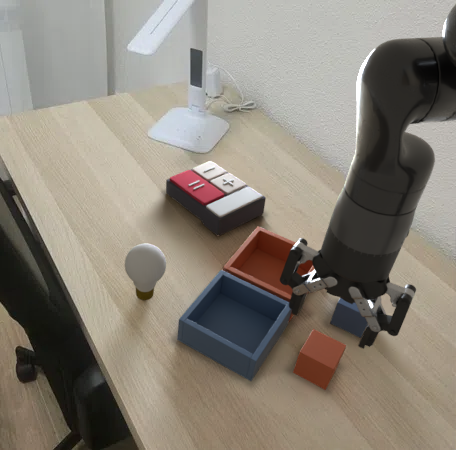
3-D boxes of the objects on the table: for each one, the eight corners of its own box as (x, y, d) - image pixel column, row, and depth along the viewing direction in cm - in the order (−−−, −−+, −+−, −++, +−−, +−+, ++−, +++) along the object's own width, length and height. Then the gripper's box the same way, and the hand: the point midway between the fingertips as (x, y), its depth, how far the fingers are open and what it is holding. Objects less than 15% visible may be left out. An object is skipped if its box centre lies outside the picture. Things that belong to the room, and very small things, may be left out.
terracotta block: (338, 365, 75) (346, 345, 72) (325, 390, 72) (333, 369, 69) (306, 349, 76) (313, 328, 73) (292, 372, 73) (299, 351, 70)
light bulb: (147, 277, 86) (148, 229, 79) (172, 299, 83) (175, 251, 76) (117, 294, 83) (115, 246, 76) (141, 318, 80) (142, 270, 73)
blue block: (370, 317, 81) (380, 296, 78) (360, 338, 78) (369, 317, 75) (340, 303, 83) (348, 282, 80) (329, 323, 80) (337, 302, 77)
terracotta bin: (319, 275, 87) (325, 255, 84) (289, 322, 80) (295, 301, 77) (253, 246, 92) (257, 225, 89) (219, 287, 85) (222, 267, 82)
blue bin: (287, 325, 80) (293, 304, 77) (251, 381, 72) (256, 361, 69) (217, 290, 84) (220, 269, 81) (176, 339, 77) (178, 319, 74)
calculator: (211, 157, 105) (267, 194, 96) (209, 176, 108) (264, 213, 98) (165, 176, 100) (220, 216, 91) (164, 195, 103) (218, 236, 93)
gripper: (289, 220, 58) (263, 319, 68) (429, 278, 52) (377, 376, 63) (315, 185, 62) (287, 283, 73) (446, 235, 57) (395, 333, 67)
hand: (329, 326), depth 68 cm, fingers open, 8 cm apart
